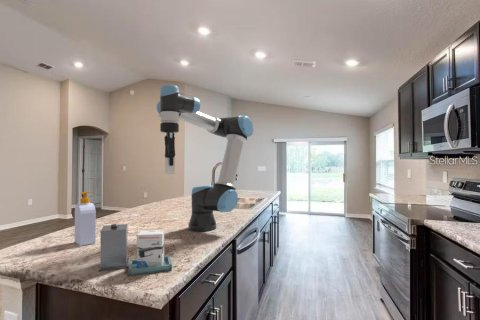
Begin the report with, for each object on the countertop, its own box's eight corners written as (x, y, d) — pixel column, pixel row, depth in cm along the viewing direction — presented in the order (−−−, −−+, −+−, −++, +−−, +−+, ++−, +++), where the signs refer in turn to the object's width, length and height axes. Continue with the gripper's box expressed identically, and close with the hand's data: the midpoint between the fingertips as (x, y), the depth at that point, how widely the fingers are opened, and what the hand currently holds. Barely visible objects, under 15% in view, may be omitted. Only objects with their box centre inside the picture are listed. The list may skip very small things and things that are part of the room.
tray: (169, 260, 102) (169, 255, 102) (171, 270, 93) (171, 265, 93) (130, 265, 97) (130, 260, 97) (128, 275, 88) (128, 270, 88)
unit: (128, 258, 104) (128, 221, 104) (127, 267, 95) (127, 226, 95) (102, 261, 101) (102, 222, 101) (98, 271, 92) (98, 228, 92)
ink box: (136, 269, 92) (136, 234, 92) (139, 264, 97) (139, 230, 97) (162, 268, 93) (162, 233, 93) (164, 262, 98) (164, 229, 98)
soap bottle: (97, 243, 123) (97, 192, 123) (80, 246, 119) (80, 193, 119) (91, 239, 130) (91, 190, 130) (74, 242, 125) (74, 191, 125)
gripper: (158, 125, 126) (158, 172, 126) (162, 118, 103) (162, 174, 103) (175, 126, 129) (175, 171, 129) (182, 119, 105) (182, 174, 105)
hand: (169, 173), depth 116 cm, fingers open, 13 cm apart
